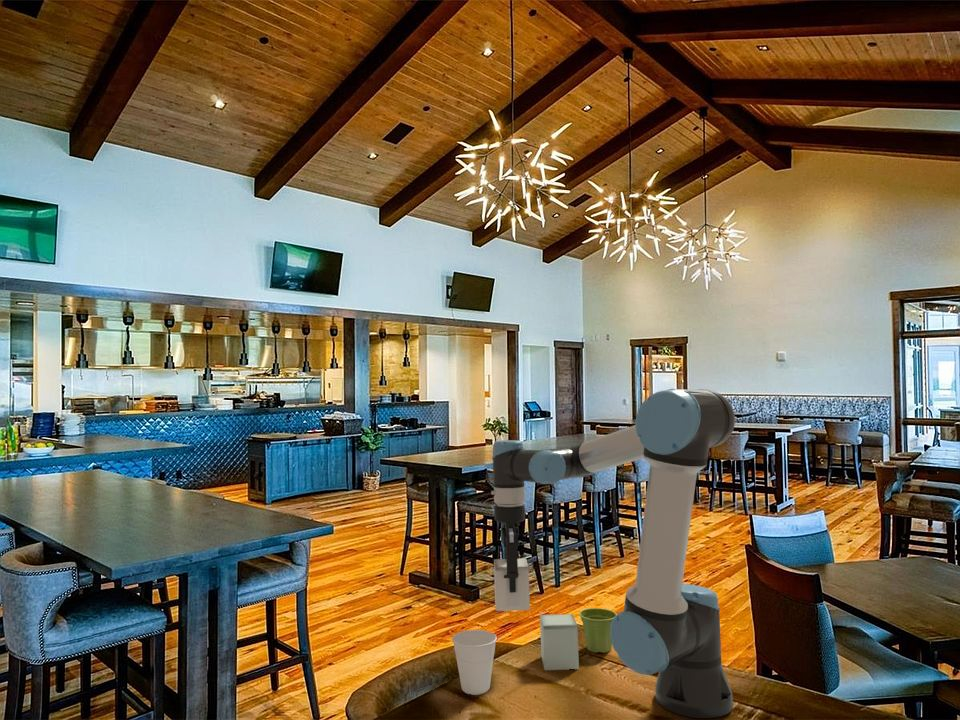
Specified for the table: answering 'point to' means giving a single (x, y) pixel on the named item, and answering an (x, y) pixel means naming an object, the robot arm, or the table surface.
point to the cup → (475, 659)
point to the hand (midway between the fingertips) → (511, 599)
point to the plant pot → (597, 628)
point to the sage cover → (559, 642)
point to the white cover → (501, 586)
